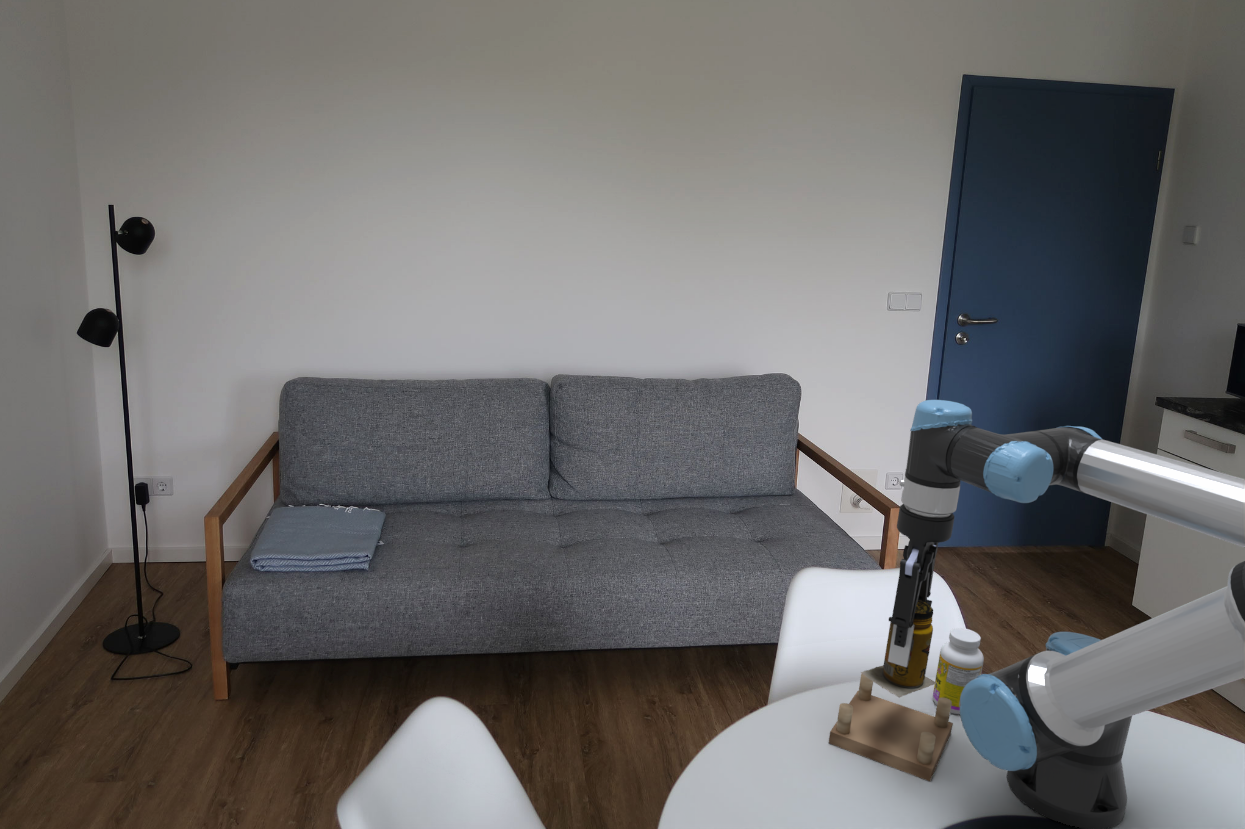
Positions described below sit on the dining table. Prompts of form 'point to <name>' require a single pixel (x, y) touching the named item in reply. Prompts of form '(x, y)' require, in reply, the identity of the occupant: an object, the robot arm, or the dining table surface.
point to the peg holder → (892, 732)
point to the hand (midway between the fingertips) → (903, 653)
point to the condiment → (913, 675)
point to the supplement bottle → (957, 666)
